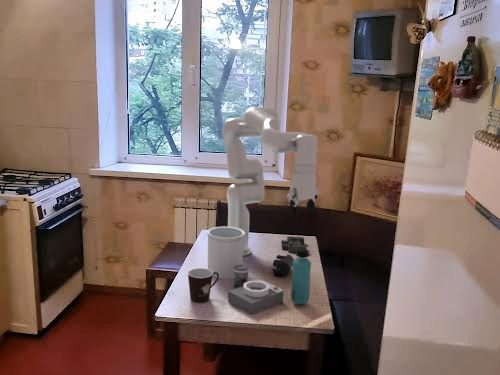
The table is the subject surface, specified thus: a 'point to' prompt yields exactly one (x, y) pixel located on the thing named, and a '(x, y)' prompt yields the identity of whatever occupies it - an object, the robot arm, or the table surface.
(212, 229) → the utensil holder
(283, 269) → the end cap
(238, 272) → the lens
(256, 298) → the camera body
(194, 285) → the coffee mug
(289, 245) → the binoculars
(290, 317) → the table surface
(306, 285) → the beverage bottle
